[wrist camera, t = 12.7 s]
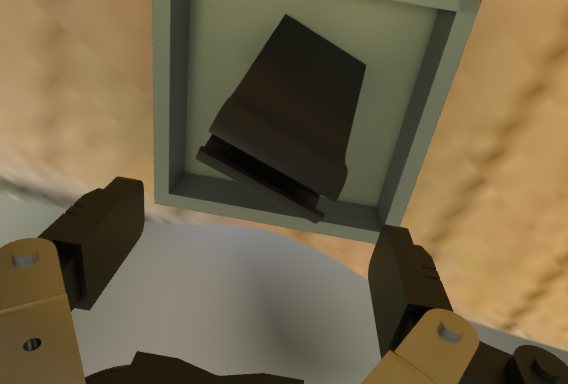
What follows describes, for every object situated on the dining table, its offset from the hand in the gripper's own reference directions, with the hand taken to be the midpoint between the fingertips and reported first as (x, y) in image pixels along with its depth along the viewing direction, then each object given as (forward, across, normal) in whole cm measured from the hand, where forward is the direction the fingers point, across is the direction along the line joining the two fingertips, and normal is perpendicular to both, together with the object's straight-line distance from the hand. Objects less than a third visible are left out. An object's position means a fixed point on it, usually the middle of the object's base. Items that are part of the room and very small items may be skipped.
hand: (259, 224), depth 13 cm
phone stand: (+16, 0, 0) cm, 16 cm away
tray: (+16, 0, 0) cm, 16 cm away
